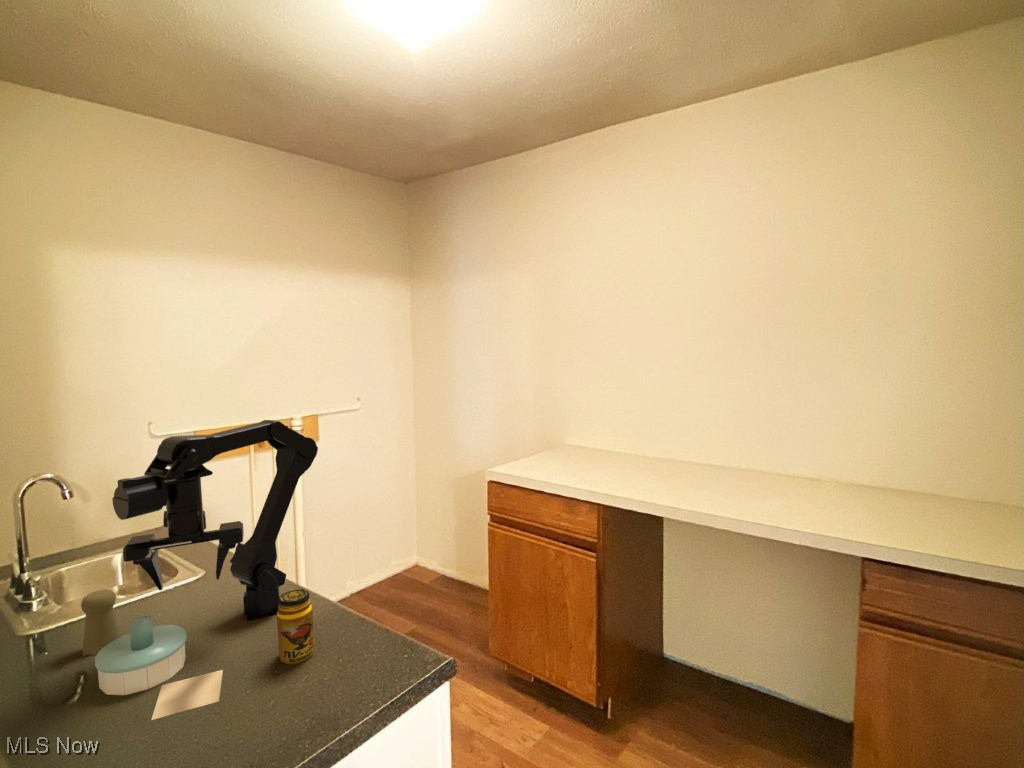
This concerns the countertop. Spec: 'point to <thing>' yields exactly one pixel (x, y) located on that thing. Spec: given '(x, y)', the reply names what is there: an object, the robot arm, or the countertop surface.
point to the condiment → (295, 626)
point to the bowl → (141, 676)
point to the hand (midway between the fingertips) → (190, 583)
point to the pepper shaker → (99, 621)
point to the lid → (140, 646)
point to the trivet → (188, 694)
